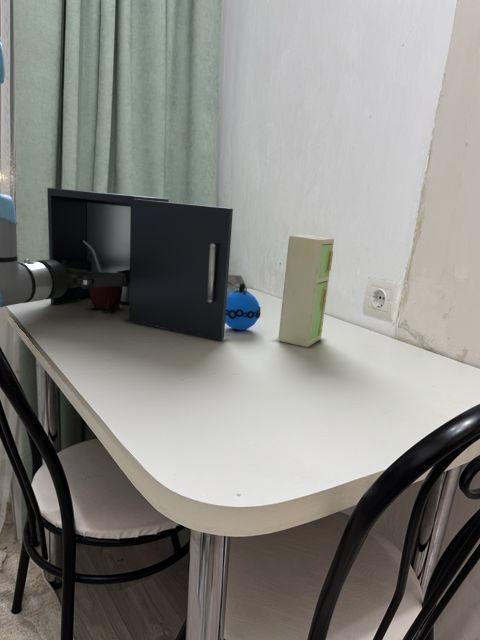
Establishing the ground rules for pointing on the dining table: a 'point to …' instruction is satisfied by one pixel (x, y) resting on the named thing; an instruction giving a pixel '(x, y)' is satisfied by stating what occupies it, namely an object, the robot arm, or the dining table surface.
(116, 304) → the mate gourd
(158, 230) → the sliding door cabinet
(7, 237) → the robot arm
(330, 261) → the toy refrigerator
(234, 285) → the beverage carton
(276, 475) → the dining table surface
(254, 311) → the ornament
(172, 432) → the dining table surface
